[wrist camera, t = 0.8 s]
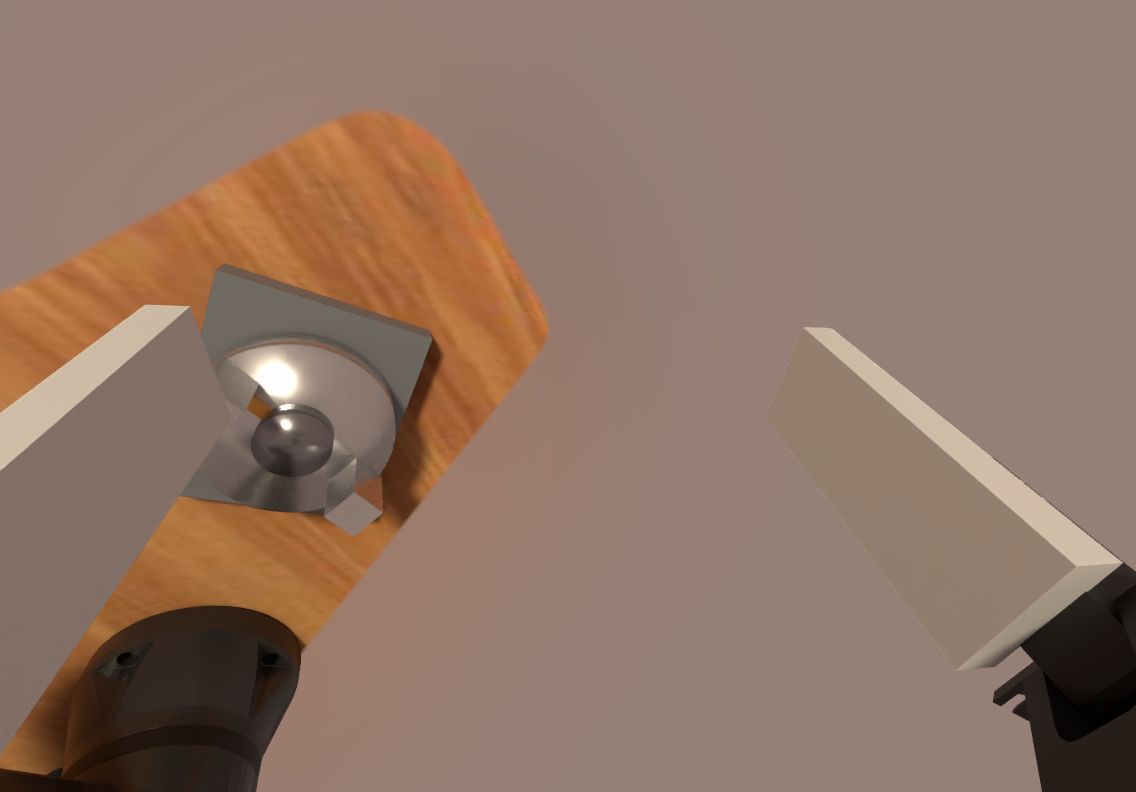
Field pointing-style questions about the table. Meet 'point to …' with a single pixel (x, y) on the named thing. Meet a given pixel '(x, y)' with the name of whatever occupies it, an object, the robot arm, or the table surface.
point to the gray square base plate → (275, 307)
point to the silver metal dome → (303, 429)
